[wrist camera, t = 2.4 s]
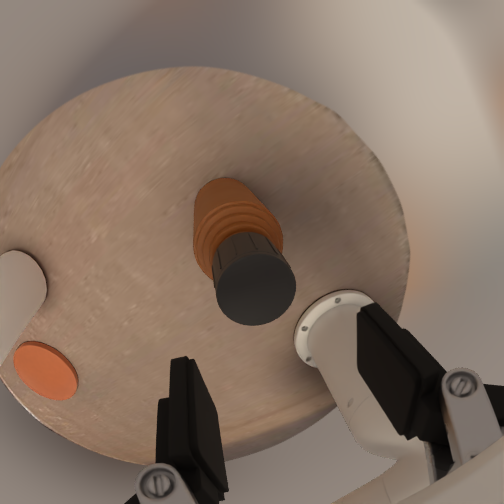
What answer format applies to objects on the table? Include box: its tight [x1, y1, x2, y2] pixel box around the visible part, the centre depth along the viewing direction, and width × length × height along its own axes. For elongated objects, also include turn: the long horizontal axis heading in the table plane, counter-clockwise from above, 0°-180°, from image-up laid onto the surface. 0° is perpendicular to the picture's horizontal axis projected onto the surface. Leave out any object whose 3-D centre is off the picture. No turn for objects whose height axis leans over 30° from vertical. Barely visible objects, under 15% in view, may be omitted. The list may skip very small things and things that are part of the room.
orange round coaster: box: [14, 341, 78, 400], centre depth 36 cm, size 11×11×1 cm
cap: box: [211, 232, 296, 326], centre depth 18 cm, size 4×4×4 cm
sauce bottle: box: [193, 178, 283, 280], centre depth 25 cm, size 6×6×18 cm
